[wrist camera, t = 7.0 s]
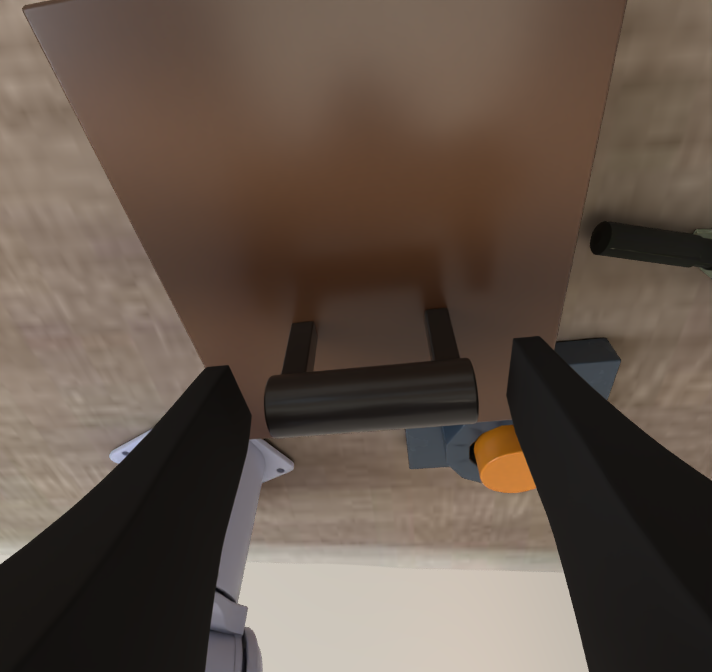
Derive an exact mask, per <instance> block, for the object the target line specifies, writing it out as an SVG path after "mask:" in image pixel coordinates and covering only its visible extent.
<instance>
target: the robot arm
mask: <svg viewBox="0 0 712 672" xmlns="http://www.w3.org/2000/svg"><path fill="white" fill-rule="evenodd" d="M506 397H507V401H508V405H509V409H510V414H511V418H512V421H513V425H514V429H515V433H516V436H517V438H518V441H519V444H520V446H521V449H522V452H523V454H524V457H525V459H526V462H527V465H528V467H529V470H530V472H531V475H532V478H533V480H534V483H535V485H536V488H537V491H538V493H539V496H540V498H541V501H542V504H543V506H544V509H545V511H546V514H547V517H548V520H549V523H550V526H551V529H552V532H553V534H554V538H555V542H556V545H557V549H558V552H559V556H560V560H561V563H562V567H563V570H564V574H565V578H566V582H567V585H568V589H569V593H570V597H571V600H572V604H573V608H574V612H575V616H576V620H577V624H578V628H579V632H580V636H581V640H582V645H583V649H584V653H585V657H586V661H587V665H588V669H589V672H712V481H711V480H710V479H708V478H707V477H706V476H704V475H703V474H701V473H700V472H698V471H697V470H695V469H694V468H692V467H691V466H690V465H688V464H687V463H685V462H684V461H683V460H681V459H680V458H678V457H677V456H676V455H674V454H673V453H671V452H670V451H669V450H667V449H666V448H664V447H663V446H662V445H661V444H659V443H658V442H657V441H655V440H654V439H653V438H651V437H650V436H649V435H648V434H646V433H645V432H644V431H643V430H641V429H640V428H639V427H638V426H637V425H635V424H634V423H633V422H632V421H630V420H629V419H628V418H627V417H626V416H624V415H623V414H622V413H621V412H620V411H619V410H617V409H616V408H615V407H614V406H613V405H612V404H610V403H609V402H608V401H607V400H606V399H605V398H604V397H603V396H602V395H600V394H599V393H598V392H597V391H596V390H595V389H594V388H593V387H592V386H591V385H589V384H588V383H587V382H586V381H585V380H584V379H583V378H582V377H581V376H580V375H579V374H578V373H577V372H576V371H575V370H574V369H573V368H572V367H571V366H570V365H569V364H568V363H566V362H565V361H564V360H563V359H562V358H561V357H560V356H559V355H558V354H557V353H556V352H555V351H554V350H553V349H552V348H551V347H550V346H549V345H548V344H547V343H546V342H545V341H544V340H543V339H542V338H541V337H540V336H532V337H521V338H513V344H512V352H511V360H510V368H509V376H508V384H507V392H506ZM251 420H252V414H251V412H250V410H249V408H248V406H247V404H246V401H245V399H244V397H243V395H242V393H241V391H240V388H239V386H238V384H237V382H236V380H235V378H234V375H233V373H232V371H231V369H230V367H229V365H223V366H212V367H206V368H205V369H204V370H203V371H202V372H201V374H200V375H199V376H198V377H197V378H196V379H195V380H194V382H193V383H192V384H191V385H190V386H189V387H188V388H187V390H186V391H185V392H184V393H183V394H182V395H181V397H180V398H179V399H178V400H177V401H176V402H175V404H174V405H173V406H172V407H171V408H170V409H169V410H168V412H167V413H166V414H165V415H164V416H163V417H162V418H161V420H160V421H159V422H158V423H157V424H156V425H155V426H154V427H153V429H151V430H149V431H147V432H145V433H143V434H142V435H140V436H138V437H136V438H134V439H133V440H131V441H129V442H127V443H125V444H123V445H122V446H120V447H118V448H116V449H114V450H113V451H112V452H111V453H110V455H109V457H110V459H111V460H112V461H114V462H116V463H118V465H117V466H116V467H115V468H114V469H113V470H112V471H111V472H110V473H109V474H108V475H107V476H106V477H105V478H104V479H103V480H102V481H101V482H100V483H99V484H98V485H97V486H95V487H94V488H93V489H92V490H91V491H90V492H89V493H88V494H87V495H86V496H84V497H83V498H82V499H81V500H80V501H79V502H78V503H77V504H75V505H74V506H73V507H72V508H71V509H70V510H69V511H67V512H66V513H65V514H64V515H62V516H61V517H60V518H59V519H57V520H56V521H55V522H54V523H53V524H51V525H50V526H49V527H48V528H46V529H45V530H44V531H43V532H42V533H40V534H39V535H38V536H37V537H35V538H34V539H33V540H32V541H31V542H29V543H28V544H27V545H25V546H24V547H23V548H22V549H20V550H19V551H18V552H16V553H15V554H14V555H12V556H11V557H10V558H8V559H7V560H6V561H4V562H3V563H2V564H0V672H262V657H261V652H260V649H259V646H258V643H257V639H256V636H255V634H254V632H253V630H251V629H250V628H249V627H245V621H246V616H247V610H248V608H247V606H243V605H240V604H238V598H239V593H240V589H241V583H242V579H243V574H244V569H245V564H246V559H247V554H248V549H249V544H250V539H251V534H252V530H253V525H254V520H255V515H256V510H257V505H258V500H259V495H260V490H261V485H262V483H263V482H266V481H268V480H271V479H273V478H276V477H278V476H280V475H283V474H285V473H288V472H290V471H292V470H293V468H294V463H293V461H291V460H290V459H289V458H287V457H286V456H285V455H283V454H282V453H281V452H279V451H278V450H276V449H275V448H274V447H272V446H271V445H270V444H268V443H267V442H266V441H264V440H263V439H251V440H249V437H250V429H251Z"/></svg>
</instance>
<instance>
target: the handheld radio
mask: <svg viewBox="0 0 712 672" xmlns="http://www.w3.org/2000/svg"><path fill="white" fill-rule="evenodd" d="M590 248H591V251H592V253H593V254H595V255H602V256H610V257H617V258H624V259H631V260H638V261H645V262H652V263H660V264H667V265H674V266H681V267H691V266H696V267H700V269H701V270H702V271H703V272H704V273H705V274H706V275H707V276H708V277H710V278H711V279H712V230H706V229H696V230H695V232H694V233H693V234H688V233H681V232H674V231H668V230H661V229H654V228H647V227H641V226H634V225H627V224H621V223H614V222H607V221H604V222H601V223H600V224H598V225H597V227H596V228H595V229H594V231H593V233H592V236H591V240H590Z"/></svg>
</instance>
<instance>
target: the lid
mask: <svg viewBox="0 0 712 672" xmlns="http://www.w3.org/2000/svg"><path fill="white" fill-rule="evenodd" d="M626 4H627V0H49V1H44V2H39V3H34V4H29V5H25V6H24V7H23V8H22V10H23V13H24V15H25V17H26V19H27V20H28V22H29V24H30V26H31V28H32V30H33V32H34V34H35V36H36V38H37V40H38V42H39V44H40V46H41V48H42V50H43V52H44V54H45V56H46V58H47V60H48V62H49V64H50V65H51V67H52V69H53V71H54V73H55V75H56V77H57V79H58V81H59V83H60V85H61V87H62V89H63V91H64V93H65V95H66V97H67V99H68V101H69V103H70V105H71V107H72V108H73V110H74V112H75V114H76V116H77V118H78V120H79V122H80V124H81V126H82V128H83V130H84V132H85V134H86V136H87V138H88V140H89V142H90V144H91V146H92V148H93V150H94V151H95V153H96V155H97V157H98V159H99V161H100V163H101V165H102V167H103V169H104V171H105V173H106V175H107V177H108V179H109V181H110V183H111V185H112V187H113V189H114V191H115V193H116V195H117V196H118V198H119V200H120V202H121V204H122V206H123V208H124V210H125V212H126V214H127V216H128V218H129V220H130V222H131V224H132V226H133V228H134V230H135V232H136V234H137V236H138V238H139V239H140V241H141V243H142V245H143V247H144V249H145V251H146V253H147V255H148V257H149V259H150V261H151V263H152V265H153V267H154V269H155V271H156V273H157V275H158V277H159V279H160V281H161V282H162V284H163V286H164V288H165V290H166V292H167V294H168V296H169V298H170V300H171V302H172V304H173V306H174V308H175V310H176V312H177V314H178V316H179V318H180V320H181V322H182V324H183V326H184V327H185V329H186V331H187V333H188V335H189V337H190V339H191V341H192V343H193V345H194V347H195V349H196V351H197V353H198V355H199V357H200V359H201V361H202V363H203V365H204V367H205V368H206V367H212V366H223V365H229V367H230V369H231V371H232V373H233V375H234V378H235V380H236V382H237V384H238V386H239V388H240V391H241V393H242V395H243V397H244V399H245V401H246V404H247V406H248V408H249V410H250V412H251V414H252V420H251V429H250V437H249V440H251V439H264V438H276V439H279V438H292V437H306V436H319V435H332V434H345V433H359V432H372V431H385V430H398V429H411V428H425V427H438V426H451V425H464V424H474V423H476V422H488V421H501V420H512V418H511V414H510V409H509V405H508V401H507V397H506V392H507V384H508V376H509V368H510V360H511V352H512V344H513V338H521V337H532V336H540V337H541V338H542V339H543V340H544V341H545V342H546V343H547V344H548V345H549V346H550V347H551V348H552V349H553V350H554V349H555V344H556V339H557V334H558V330H559V325H560V320H561V315H562V310H563V306H564V301H565V296H566V291H567V286H568V282H569V277H570V272H571V267H572V262H573V258H574V253H575V248H576V243H577V238H578V234H579V229H580V224H581V219H582V215H583V210H584V205H585V200H586V195H587V191H588V186H589V181H590V176H591V171H592V167H593V162H594V157H595V152H596V147H597V143H598V138H599V133H600V128H601V123H602V119H603V114H604V109H605V104H606V99H607V95H608V90H609V85H610V80H611V76H612V71H613V66H614V61H615V56H616V52H617V47H618V42H619V37H620V32H621V28H622V23H623V18H624V13H625V8H626Z"/></svg>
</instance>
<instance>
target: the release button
mask: <svg viewBox="0 0 712 672" xmlns="http://www.w3.org/2000/svg"><path fill="white" fill-rule="evenodd" d="M474 454H475V458H476V462H477V467H478V471H479V475H480V479H481V481H482V483H483V484H484V485H485V486H486V487H487V488H489V489H491V490H494V491H497V492H503V493H518V492H524V491H529V490H532V489H535V488H536V485H535V483H534V480H533V478H532V475H531V472H530V470H529V467H528V465H527V462H526V459H525V457H524V454H523V452H522V449H521V446H520V444H519V441H518V438H517V436H516V433H515V429H514V425H504V426H500V427H497V428H495V429H492V430H490V431H488V432H485V433H483V434H481V435H480V436H479V437H478V439H477V440H476V442H475V444H474Z"/></svg>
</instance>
